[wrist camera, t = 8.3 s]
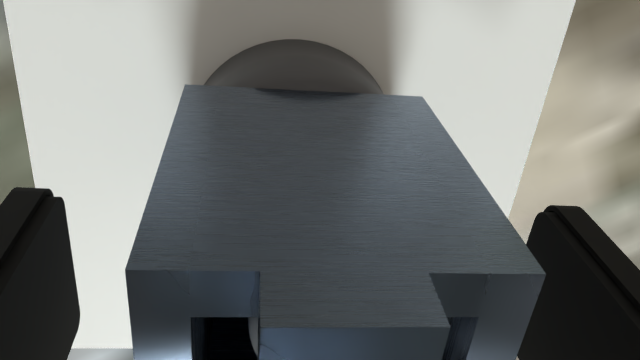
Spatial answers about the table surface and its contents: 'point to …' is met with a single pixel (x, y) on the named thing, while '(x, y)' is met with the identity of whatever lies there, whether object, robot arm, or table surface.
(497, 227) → the coupler
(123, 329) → the shaft mount
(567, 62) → the table surface
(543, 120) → the table surface
